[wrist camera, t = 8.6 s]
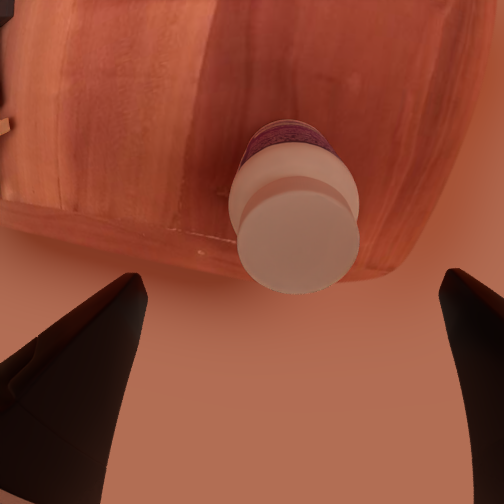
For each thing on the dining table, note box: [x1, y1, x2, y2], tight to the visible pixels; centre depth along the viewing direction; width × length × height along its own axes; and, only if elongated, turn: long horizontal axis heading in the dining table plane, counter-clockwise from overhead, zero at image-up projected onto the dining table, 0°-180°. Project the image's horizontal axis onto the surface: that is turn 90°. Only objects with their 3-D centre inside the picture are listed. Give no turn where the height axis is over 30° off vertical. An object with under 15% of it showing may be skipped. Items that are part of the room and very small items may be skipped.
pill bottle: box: [228, 119, 360, 294], centre depth 13 cm, size 5×5×10 cm
